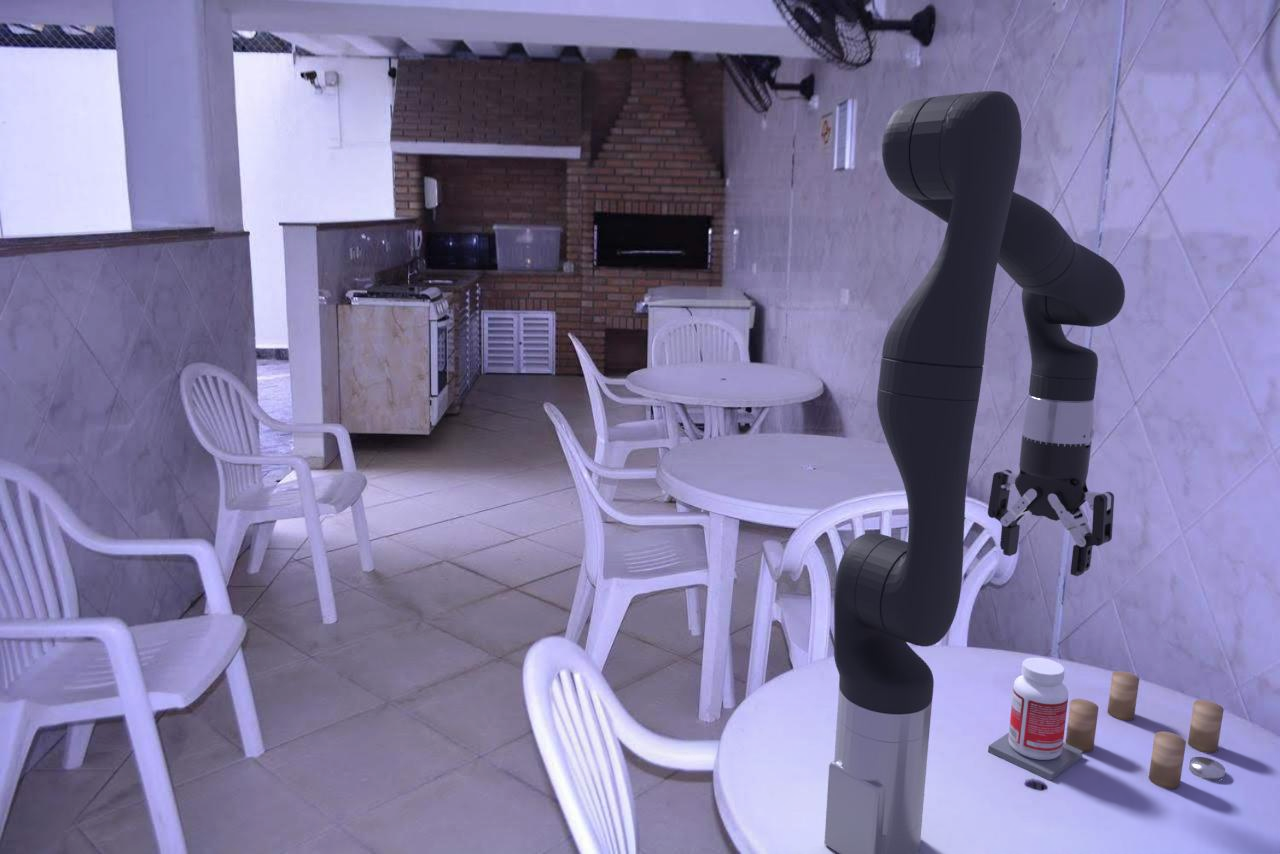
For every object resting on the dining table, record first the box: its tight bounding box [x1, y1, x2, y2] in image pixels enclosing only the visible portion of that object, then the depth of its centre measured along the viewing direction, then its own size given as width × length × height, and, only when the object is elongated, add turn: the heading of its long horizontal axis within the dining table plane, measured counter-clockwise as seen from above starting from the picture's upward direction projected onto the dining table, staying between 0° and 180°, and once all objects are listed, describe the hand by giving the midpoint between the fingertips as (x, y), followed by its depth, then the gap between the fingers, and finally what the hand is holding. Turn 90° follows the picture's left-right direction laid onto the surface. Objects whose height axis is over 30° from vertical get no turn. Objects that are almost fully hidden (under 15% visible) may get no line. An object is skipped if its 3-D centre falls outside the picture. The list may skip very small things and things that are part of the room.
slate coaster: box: [987, 732, 1084, 781], centre depth 114 cm, size 8×8×1 cm
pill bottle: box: [1008, 657, 1069, 760], centre depth 112 cm, size 6×6×11 cm
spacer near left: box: [1148, 731, 1187, 790], centre depth 108 cm, size 3×3×6 cm
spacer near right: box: [1065, 698, 1099, 753], centre depth 115 cm, size 3×3×6 cm
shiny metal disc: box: [1188, 756, 1226, 782], centre depth 110 cm, size 4×4×1 cm
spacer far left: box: [1187, 699, 1224, 754], centre depth 115 cm, size 3×3×6 cm
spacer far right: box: [1107, 670, 1140, 722], centre depth 123 cm, size 3×3×6 cm
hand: (1042, 564), depth 112 cm, fingers open, 8 cm apart
